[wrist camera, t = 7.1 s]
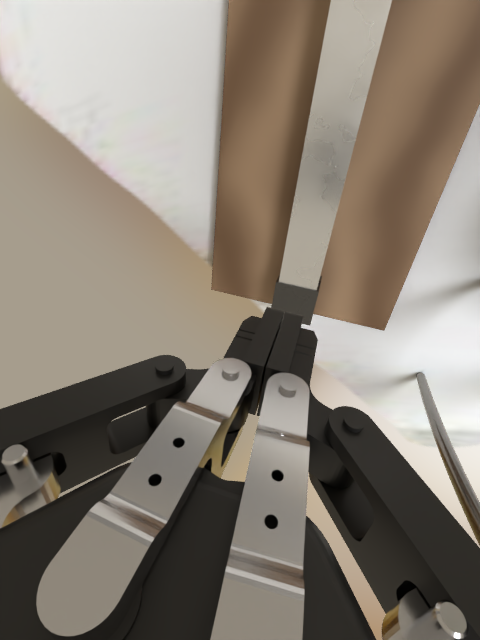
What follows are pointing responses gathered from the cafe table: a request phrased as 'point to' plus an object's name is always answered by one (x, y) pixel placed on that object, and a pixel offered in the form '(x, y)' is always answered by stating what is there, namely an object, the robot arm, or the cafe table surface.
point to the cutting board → (368, 153)
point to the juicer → (451, 460)
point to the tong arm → (329, 146)
